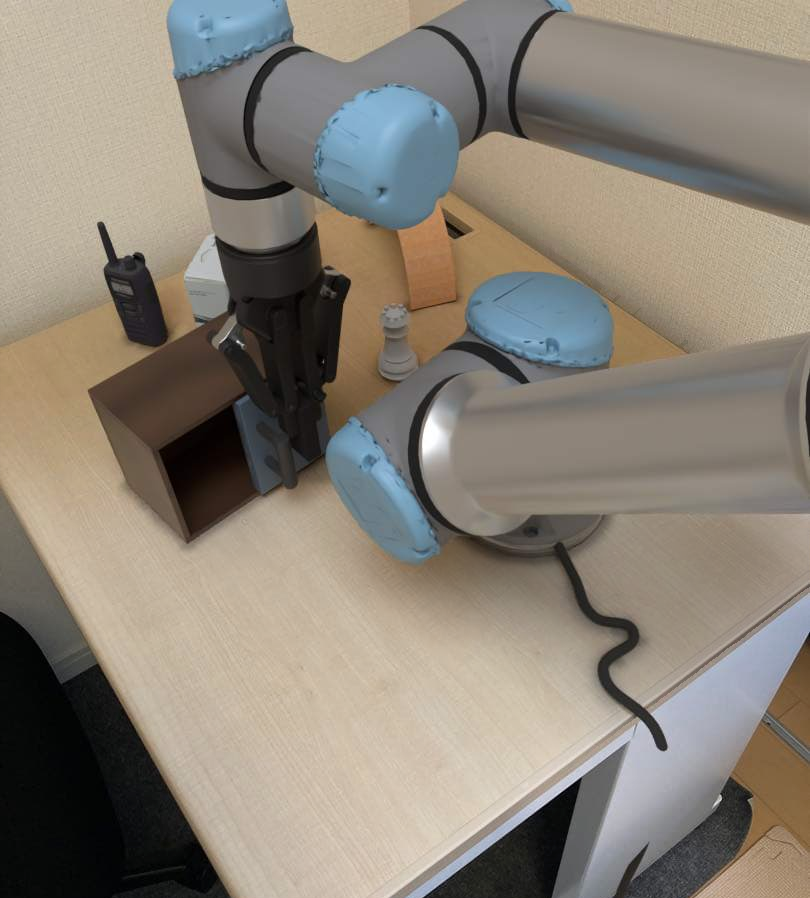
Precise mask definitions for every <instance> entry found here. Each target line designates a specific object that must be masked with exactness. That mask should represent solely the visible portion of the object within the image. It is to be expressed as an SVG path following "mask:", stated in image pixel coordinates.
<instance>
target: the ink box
mask: <svg viewBox="0 0 810 898" xmlns="http://www.w3.org/2000/svg"><path fill="white" fill-rule="evenodd" d="M215 235H216V234H215V233H211V234H208V235H206V236H205V238H204V240H203V241H202V242H201V245H200V247H199V249H198V250H197V252H196V253H195V254H194V257H193V258H192V260H191V262H190V263H189V264H188V266H187V269H186V270H185V272H184V275H183V282H184V285H185V290H186V293H187V296H188V297H187V298H188V301H189V305H190V308H191V312H192V316H193V319H194V323H195V326H196V328H198V327H200V326H201V325H203V324H205V323H207V322H208V321H210V320H212V319H214V318H215V317H217V316H219V315H221V314H222V313H224V312H226V311H227V305H228V301H229V290H228V287H227V285H226V282H225V279H224V276H223V272H222V268H221V264H220V259H219V255H218V251H217V247H216V242H215Z"/></svg>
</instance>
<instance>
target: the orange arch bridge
mask: <svg viewBox="0 0 810 898" xmlns="http://www.w3.org/2000/svg"><path fill="white" fill-rule="evenodd" d="M368 224H370V225H371V224H373V223H372V222H369V221H368ZM395 231H396V234H397V239H398V242H399V246H400V250H401V255H402V260H403V265H404V271H405V277H406V284H407V285H406V286H407V292H408V303H409V305H408V306H409V309H410V311H413V310H418V309H422V308H426V307H431V306H436V305H441V304H444V303H449V302H453V301H457V285H456V283H457V282H456V276H455V275H456V274H455V265H454V258H453V252H452V247H451V242H450V237H449V233H448V229H447V225H446V220H445V216H444V213H443V210H442V207H441V205H440V201H439V200H438V201H437V202H436V206H435V209H434V212H433V213H432V214H431V215H430V216H429V217H428V218H427V219H426V220H424V221H423V222H421V223H420V224H418V225H416V226H414V227H411V228H408V229H402V230H395Z"/></svg>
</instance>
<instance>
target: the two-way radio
mask: <svg viewBox="0 0 810 898" xmlns="http://www.w3.org/2000/svg"><path fill="white" fill-rule="evenodd" d="M96 227H97V230H98V233H99V236H100V240H101V244H102V247H103V250H104V252H105V255H106V258H107V261H108V262H107V263H106V264H105V265H104V267H103V269H102V270H103V276H104V279H105V282H106V285H107V288H108V290H109V293H110V296H111V298H112V301H113V303H114V306H115V309H116V310H115V311H116V312H117V316H118V317H119V319H120V321H121V324H122V326H123V329H124V332H125V334H126V337H127V339H128V340H129V341H132V342H137V343H140V344H144V345H148V346H152V347H156V346H160V345H162V343H164V342H165V341H166V340H167V338H168V328H167V324H166V320H165V317H164V313H163V310H162V305H161V301H160V298H159V294H158V290H157V288H156V284H155V283H154V282H155V281H154V280H153V277H152V274H151V272H150V269H149V268H148V267H147V266H146V263H147V262H146V258H145V255H144V254H143V253H142V252H139V251H135V252H134V253H133V254H132V255H130V254H126V255H124V257H118V256H117V254H116V251H115V247H114V245H113V243H112V242H113V241H112V240H111V237H110V234H109V233H108V230H107V226H106V224H105V223H104V222H103V221H102V220H101V221H100V220H99V221H97V223H96Z"/></svg>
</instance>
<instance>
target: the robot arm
mask: <svg viewBox="0 0 810 898" xmlns="http://www.w3.org/2000/svg"><path fill="white" fill-rule="evenodd" d="M166 28H167V33H168V39H169V46H170V50H171V55H172V56H171V57H172V60H173V66H174V69H172V71H173V72H172V74H173V78H174V80H175V81H176V85H177V90H178V93H179V98H180V101H181V106H182V110H183V112H184V117H185V121H186V124H187V129H188V133H189V137H190V140H191V144H192V149H193V152H194V156H195V160H196V161H195V162H196V165H197V169H198V170H199V175H200V180H201V185H202V190H203V193H204V197H205V203H206V206H207V211H208V216H209V220H210V224H211V227H212V228H211V229H212V231H213V232H214V234H216V235H215V242H216V247H217V251H218V255H219V259H220V264H221V268H222V272H223V276H224V279H225V282H226V285H227V287H228V290H229V301H228V305H227V311H228V314H229V316H230V317H229V318H228V320H227V321H226V323H225V324H224V326H223V327H222V329H221V330H220V331H218V330H215V329H213V330H211V331H209V332H208V334H207V336H206V340H207V342H208V343H209V344H210V345H212V346H213V347H214V348H215V349H216V350H218V351H219V352H220V353H221V354H222V355H224V356H225V358H226V359H227V361H228V363H229V364H230V366H231V368H232V369H233V371H234V373H235V374H236V376H237V378H238V379H239V381H240V383H241V384H242V386H243V388H244V389H245V391H246V393H247V394H248V396H249V398H250V399H251V401H252V403H253V404H254V405H256V406H257V407H258V408H259V409H260V410H261V411H263V412H264V413H265V414H266V415H267V416H269V417H270V418H271V419H274V418H276V417H277V418H278V422H279V427H280V429H281V430H282V431H284V432H285V433H286V434H287V435H288V436H289V438H290V443H291V447H292V448H293V449H294V450H295V451H296V452H298V453H299V454H300V455H301V456H302V457H303V458H305V459H306V460H307V461H308V462H311V461H312V460H313V461H315V460H316V459H318V458H319V457H321V456H322V455H321V448H320V442H319V436H318V430H317V424H316V422H317V421H319V420H321V417H322V411H321V405H320V403H322V402H323V401H324V400H325V401H326V399H327V397H328V394H327V392H325V391H324V390H323V391H322V390H321V387H322V388H323V387H324V385H325V384H329V385H330V384H332V383H333V382H334V381H335V380H336V379H337V376H338V375H337V373H338V365H339V353H340V346H341V345H340V342H341V334H342V322H343V313H344V306H345V305H344V304H345V301H346V299H347V295H348V294H349V291H350V289H351V285H352V281H351V279H350V277H348V276H347V275H345V274H343V273H342V272H340V271H339V270H337V269H336V268H335V267H333V266H331V265H326V266H323V257H322V250H321V243H320V235H319V229H318V224H317V222H316V217H317V216H316V215H317V210H316V201H315V198H317V199H319V200H320V201H322V202H324V203H326V204H328V205H329V206H330V207H332V208H334V209H335V210H337V211H338V212H340V213H342V214H344V215H347V216H349V217H351V218H352V217H356V218H357V219H360V220H361V219H362V220H364V221H367V222H368V223H369V222H372V224H374V225H376V226H379V227H382V228H384V229H387V230H393V231H396V230H402V229H408V228H411V227H414V226H416V225H418V224H420V223H421V222H423V221H424V220H426V219H427V218H428V217H429V216H430V215H431V214H432V213H433V212H434V209H435V206H436V202H437V201H439V199H440V198H441V199H442V198H445V197H446V196H447V194H448V192H449V191H450V189H451V187H452V184H453V181H454V178H455V175H456V172H457V169H458V164H459V159H460V158H459V157H460V152H461V151H463V150H464V149H465V148H467V147H468V146H470V145H472V144H473V143H475V142H476V141H478V140H480V139H482V138H483V137H484V136H487V135H488V134H490V133H494V132H495V133H501V134H505V135H508V136H512V137H515V138H518V139H524V140H527V141H529V142H533V143H537V144H540V145H544V146H547V147H550V148H553V149H557V150H559V151H563V152H566V153H569V154H572V155H577V156H580V157H583V158H586V159H589V160H592V161H596V162H599V163H602V164H604V165H609V166H612V167H616V168H618V169H622V170H625V171H627V172H632V173H635V174H639V175H642V176H644V177H648V178H651V179H655V180H657V181H661V182H664V183H668V184H671V185H674V186H678V187H681V188H684V189H687V190H689V191H693V192H697V193H701V194H704V195H707V196H709V197H713V198H717V199H720V200H724V201H726V202H730V203H732V204H736V205H739V206H743V207H745V208H750V209H752V210H755V211H759V212H763V213H765V214H769V215H772V216H776V217H778V218H781V219H785V220H788V221H791V222H794V223H799V224H801V225H805V226H808V227H810V60H806V59H801V58H796V57H791V56H786V55H782V54H777V53H772V52H767V51H762V50H757V49H752V48H747V47H743V46H737V45H732V44H729V43H724V42H719V41H713V40H709V39H703V38H699V37H694V36H689V35H684V34H680V33H674V32H670V31H664V30H660V29H656V28H655V29H654V28H651V27H645V26H640V25H635V24H631V23H626V22H620V21H615V20H611V19H606V18H601V17H596V16H591V15H586V14H581V13H576V12H575V11H574V9H573V6H572V4H571V3H570V1H569V0H465V1H463V2H461V3H460V4H458V5H456V6H454V7H452V8H451V9H448V10H447V11H445V12H444V13H441V14H439V15H437V16H436V17H434V18H432V19H430V20H429V21H427V22H425V23H422V24H421V25H419V26H417V27H415V28H414V29H411V30H410V31H407V32H406V33H404V34H402V35H400V36H398V37H396V38H395V39H392V40H390V41H388V42H387V43H385V44H383V45H381V46H379V47H377V48H375V49H374V50H371V51H369V52H368V53H366V54H364V55H362V56H360V57H358V58H357V59H355V60H352V61H347V62H343V61H341V60H338V59H336V58H334V57H330V56H328V55H325V54H323V53H320V52H317V51H314V50H311V48H308V47H306V46H303V45H301V44H298V43H296V42H295V40H294V33H295V32H294V31H295V26H294V25H293V22H292V19H291V15H290V11H289V7H288V2H287V0H173V1H172V3H171V4H170V6H169V8H168V10H167V14H166ZM464 311H465V312H464V321H465V323H466V327H465V330H464V331H463V333H462V334H461V335H460V336H459V337H458V338H457V339H455V340H454V341H452V342H451V343H450V344H449V345H447V346H446V347H445V348H443V349H441V351H439V352H438V353H436V354H435V355H434V356H432V357H431V358H430V359H429V360H427V361H426V362H425V363H423V364H422V365H421V366H420V367H419V366H418V369H417V370H416V371H414V372H413V373H412V374H410V375H409V376H408V377H406V378H405V379H404V380H402V381H399V382H398V383H397V384H395V386H393V387H392V388H390V389H389V390H388V391H387V392H385V393H384V394H383V395H381V396H380V397H379V398H378V399H376V400H375V401H373V402H372V403H370V405H368V406H367V407H366V408H364V409H363V410H361V411H360V412H359V413H358V414H356V415H355V416H351V417H349V418H348V420H347V423H345V425H344V426H342V427H341V429H339V430H338V431H337V432H336V433H335V434H334V435H332V437H330V438H331V440H330V441H329V443H328V445H327V449H326V452H325V463H326V466H327V472H328V476H329V478H330V481H331V483H332V485H333V488H334V489H335V492H336V493H337V495H338V497H339V499H340V501H341V502H342V503H343V506H344V508H346V510H347V511H348V513H349V514H350V516H351V517H352V518H353V520H354V521H355V522H356V524H358V525H357V526H359V527H360V528H361V529H362V531H363V532H364V533H365V534H366V535H367V536H368V537H369V538H370V539H371V540H372V541H373V542H374V543H375V544H376V545H377V546H378V547H379V548H380V549H381V550H383V551H384V552H385V553H387V554H388V555H389V556H391V557H392V558H394V559H396V560H398V561H400V562H401V563H404V564H407V565H411V566H417V565H418V566H419V565H422V564H424V563H427V562H428V561H429V559H431V558H432V557H437V556H439V555H440V554H441V552H442V548H443V547H445V545H446V544H448V543H449V542H450V541H452V540H453V539H455V538H458V537H460V536H461V537H465V536H466V537H469V538H470V539H471V540H473V541H474V542H476V543H477V544H479V545H480V546H481V547H482V546H483V547H484V548H487V549H489V550H491V551H494V552H497V553H500V554H504V555H507V556H512V557H513V556H514V557H525V558H533V557H535V558H536V557H537V558H538V557H546V556H550V555H554V554H556V555H557V557H558V558H559V561H560V562H561V565H562V567H563V569H564V571H565V572H566V575H567V577H568V579H569V582H570V584H571V586H572V589H573V592H574V595H575V599H576V601H577V604H578V606H579V608H580V609H581V611H582V613H583V614H584V616H586V617H587V619H589V620H590V621H591V622H593V623H595V624H596V625H600V626H601V627H607V628H614V629H615V628H616V629H621V630H624V631H626V632H627V634H628V637H627V639H625V641H623V642H621V643H620V644H618V645H617V646H615V647H613V648H611V649H610V650H608V651H607V652H606V653H605V654H603V655H602V657H601V658H600V659H599V661H598V664H597V675H598V678H599V682H600V684H601V686H602V688H603V689H604V690H605V692H607V694H608V695H610V697H611V698H613V699H614V700H615V701H616V702H618V704H620V705H621V706H622V707H624V708H626V709H627V710H628V711H629V712H631V713H632V714H634V716H636V717H637V718H638V719H639V720H640V721H641V722H643V724H644V725H645V726H646V727H647V729H648V731H649V732H650V734H651V736H652V739H653V741H654V744H655V747H656V748H657V750H659V751H660V752H666V751H668V748H669V746H668V741H667V738H666V736H665V733H664V731H663V729H662V727H661V726H660V724H659V723H658V721H657V720H656V718H655V717H654V716H653V715H652V714H651V712H649V711H648V710H647V709H646V708H645V707H644V706H642V705H641V704H640V703H639V702H637V701H636V700H634V699H633V698H632V697H630V696H629V695H628V694H626V693H625V692H624V691H622V690H621V689H620V688H619V687H618V686H617V685H616V684H615V683H614V681H613V679H612V678H611V675H610V669H609V668H610V665H612V663H613V662H615V661H616V660H618V659H619V658H621V657H622V656H624V655H626V654H628V653H629V652H631V651H632V650H633V649H634V648H635V647H637V645H638V643H639V642H640V637H641V635H640V631H639V628H638V626H637V625H636V624H635V623H634V622H633V621H631V620H629V619H627V618H623V617H614V616H608V615H603V614H600V613H598V612H597V610H595V609H594V607H593V606H592V605H591V603H590V601H589V599H588V596H587V593H586V590H585V587H584V583H583V581H582V578H581V576H580V574H579V573H578V570H577V568H576V566H575V564H574V562H573V561H572V558H571V556H570V555H569V553H568V551H567V550H569V549H572V548H574V547H575V546H577V545H579V544H581V543H582V542H583V541H585V540H587V538H588V537H590V535H591V534H592V533H593V532H594V531H595V530H596V528H598V526H599V524H600V522H601V520H602V518H603V515H810V331H806V332H801V333H796V334H790V335H789V334H788V335H784V336H779V337H773V338H768V339H763V340H757V341H751V342H746V343H741V344H736V345H735V344H734V345H731V346H725V347H719V348H713V349H708V350H707V349H706V350H702V351H696V352H692V353H686V354H681V355H675V356H670V357H663V358H659V359H653V360H648V361H643V362H642V361H641V362H637V363H631V364H626V365H621V366H615V367H610V363H611V359H612V358H613V356H614V348H615V347H614V344H613V337H614V327H615V323H614V317H613V314H612V313H611V309H610V307H609V305H608V303H607V302H606V301H605V299H603V297H602V296H601V295H600V294H599V293H598V292H596V290H594V289H592V288H591V287H589V286H587V285H586V284H584V283H583V282H580V281H578V280H575V279H573V278H570V277H568V276H565V275H561V274H556V273H553V272H545V271H531V270H530V271H529V270H526V271H525V270H521V271H519V270H518V271H513V272H512V271H511V272H506V273H502V274H498V275H495V276H493V277H491V278H488V279H487V280H485V281H483V282H481V283H480V284H479V285H478V286H476V287H475V288H474V289H473V291H472V293H471V294H470V296H469V298H468V301H467V307H465V309H464ZM244 328H245V329H247V330H249V331H250V332H252V333H253V334H254V336H255V337H256V339H257V340H258V342H259V347H260V352H261V356H262V361H263V366H264V370H265V375H266V380H267V384H266V382H265V380H264V378H263V377H262V375H261V373H260V371H259V370H258V368H257V366H256V364H255V362H254V361H253V359H252V358H251V356H250V355H249V354H248V353H247V352H246V351H244V350H246V349H247V344H246V343H245V338H244V337H243V334H242V332H243V329H244ZM267 385H268V386H267ZM295 385H296V386H297V388H298V390H296V389H295ZM320 455H321V456H320ZM318 456H319V457H318ZM317 457H318V458H317ZM315 458H316V459H315ZM314 459H315V460H314ZM313 461H312V462H313ZM312 462H311V463H312ZM650 842H651V841H650V840H649V841H648V843H646V845H645V846H644V847H643V848H642V849H641V850H640V851H639V852H638V854H636V856H635V857H633V859H632V860H631V861H630V862H629V863H628V865H627V867H626V868H625V871H624V872H623V874H622V876H621V879H620V882H619V884H618V886H617V888H616V891H615V893H614V897H613V898H624V897H625V895H626V893H627V890H628V888H629V886H630V884H631V882H632V880H633V877H634V876H635V874H636V872H637V870H638V869H639V867H640V864H641V862H642V861H643V858H644V856H645V854H646V852H647V850H648V847H649V845H650Z"/></svg>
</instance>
